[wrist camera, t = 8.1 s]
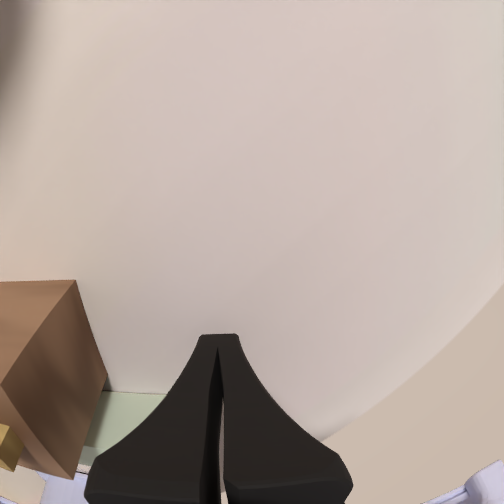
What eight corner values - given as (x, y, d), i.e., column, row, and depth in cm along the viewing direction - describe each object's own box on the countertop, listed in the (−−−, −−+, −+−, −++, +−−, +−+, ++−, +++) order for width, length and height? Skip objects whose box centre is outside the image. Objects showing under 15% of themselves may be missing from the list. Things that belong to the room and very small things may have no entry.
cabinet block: (108, 373, 13) (66, 506, 6) (27, 366, 13) (-27, 470, 6) (76, 278, 11) (-19, 416, 4) (-8, 281, 11) (-100, 380, 4)
